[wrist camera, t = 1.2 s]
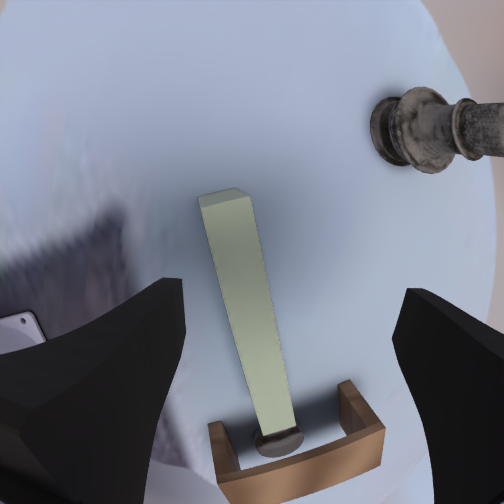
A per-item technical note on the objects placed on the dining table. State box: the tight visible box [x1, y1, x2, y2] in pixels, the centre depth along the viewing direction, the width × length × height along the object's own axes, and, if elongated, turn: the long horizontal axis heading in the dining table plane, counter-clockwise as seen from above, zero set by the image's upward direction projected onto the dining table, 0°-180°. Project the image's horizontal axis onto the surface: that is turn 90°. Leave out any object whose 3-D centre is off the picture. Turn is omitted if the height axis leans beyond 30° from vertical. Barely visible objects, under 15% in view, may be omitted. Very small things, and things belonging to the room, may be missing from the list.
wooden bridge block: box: [208, 380, 386, 504], centre depth 23 cm, size 13×6×7 cm, turn 102°
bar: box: [197, 188, 296, 436], centre depth 20 cm, size 2×16×5 cm, turn 11°
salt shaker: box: [370, 87, 504, 174], centre depth 15 cm, size 6×6×12 cm
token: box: [254, 421, 304, 458], centre depth 26 cm, size 4×4×2 cm
